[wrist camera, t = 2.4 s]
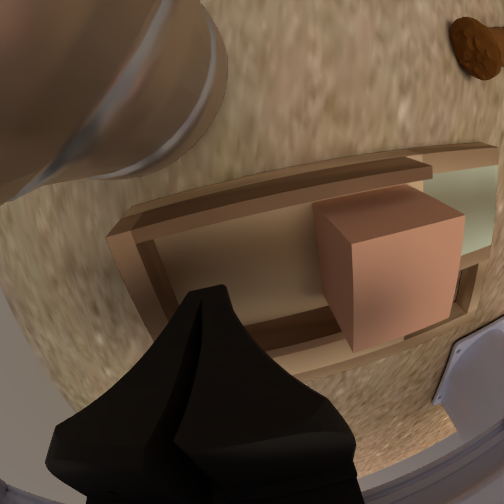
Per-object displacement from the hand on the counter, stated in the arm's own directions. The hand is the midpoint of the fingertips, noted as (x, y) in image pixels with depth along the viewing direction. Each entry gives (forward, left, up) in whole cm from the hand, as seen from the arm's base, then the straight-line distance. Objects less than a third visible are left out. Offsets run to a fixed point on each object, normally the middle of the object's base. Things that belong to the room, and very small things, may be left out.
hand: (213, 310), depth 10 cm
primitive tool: (+11, -24, -5) cm, 27 cm away
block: (0, -7, -3) cm, 7 cm away
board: (-3, -7, -4) cm, 8 cm away
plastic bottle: (+8, +1, -4) cm, 9 cm away
